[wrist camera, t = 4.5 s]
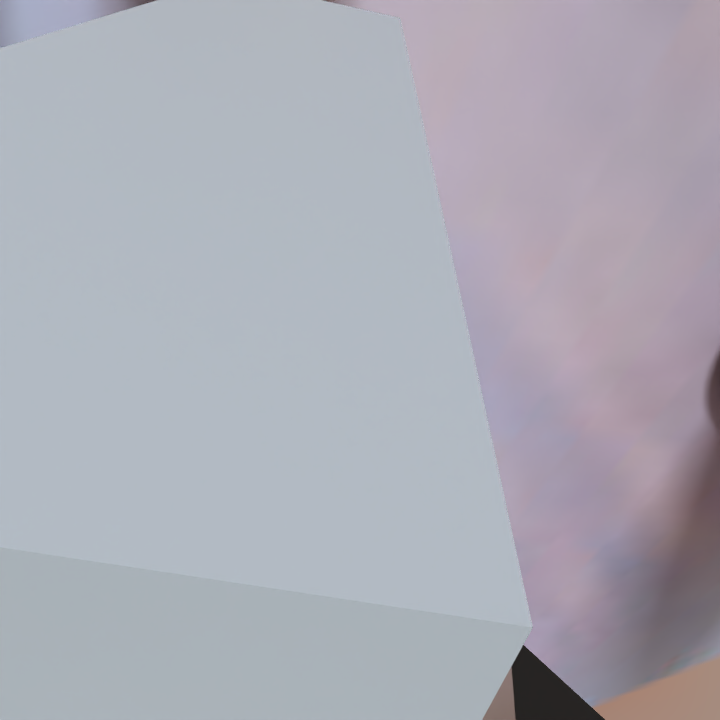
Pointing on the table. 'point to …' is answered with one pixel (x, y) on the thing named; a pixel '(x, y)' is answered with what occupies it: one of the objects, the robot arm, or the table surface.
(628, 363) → the table surface
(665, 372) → the table surface
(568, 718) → the robot arm
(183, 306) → the flat gray plate
